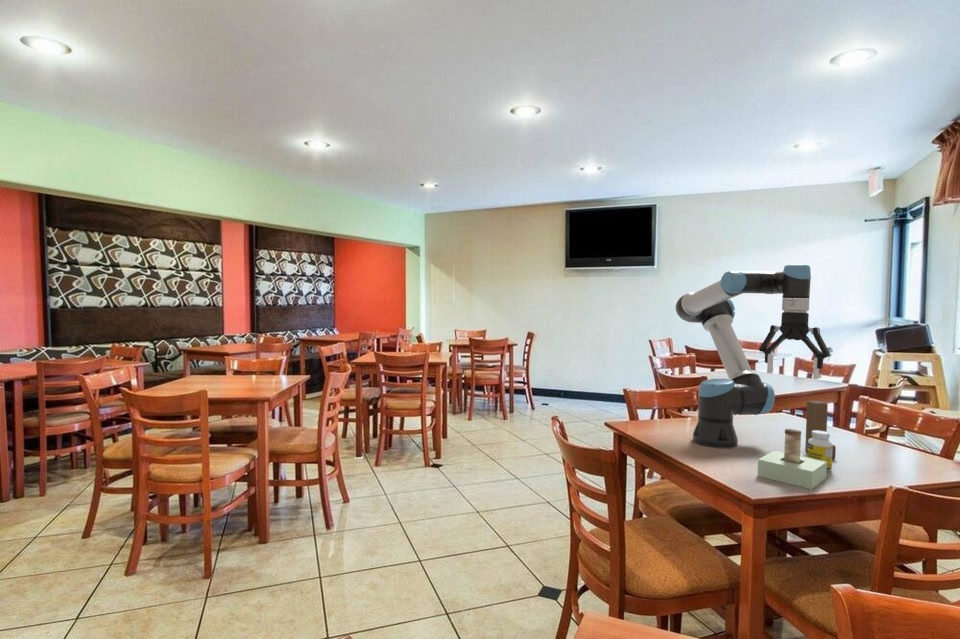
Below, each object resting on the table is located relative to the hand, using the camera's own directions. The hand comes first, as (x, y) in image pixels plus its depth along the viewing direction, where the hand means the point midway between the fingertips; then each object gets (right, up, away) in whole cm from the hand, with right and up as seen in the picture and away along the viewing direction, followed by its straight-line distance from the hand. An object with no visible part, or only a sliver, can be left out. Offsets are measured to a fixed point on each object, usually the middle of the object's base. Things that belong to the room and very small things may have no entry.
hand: (792, 375), depth 164 cm
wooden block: (+14, -28, +6) cm, 32 cm away
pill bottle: (+3, -29, -8) cm, 30 cm away
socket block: (-10, -28, -16) cm, 34 cm away
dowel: (-11, -28, -16) cm, 34 cm away
